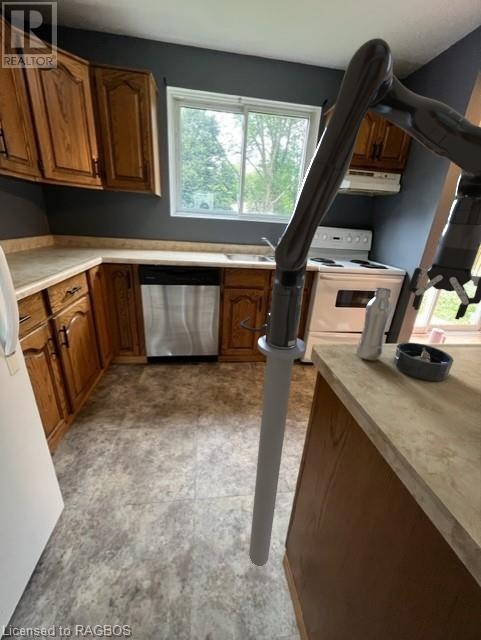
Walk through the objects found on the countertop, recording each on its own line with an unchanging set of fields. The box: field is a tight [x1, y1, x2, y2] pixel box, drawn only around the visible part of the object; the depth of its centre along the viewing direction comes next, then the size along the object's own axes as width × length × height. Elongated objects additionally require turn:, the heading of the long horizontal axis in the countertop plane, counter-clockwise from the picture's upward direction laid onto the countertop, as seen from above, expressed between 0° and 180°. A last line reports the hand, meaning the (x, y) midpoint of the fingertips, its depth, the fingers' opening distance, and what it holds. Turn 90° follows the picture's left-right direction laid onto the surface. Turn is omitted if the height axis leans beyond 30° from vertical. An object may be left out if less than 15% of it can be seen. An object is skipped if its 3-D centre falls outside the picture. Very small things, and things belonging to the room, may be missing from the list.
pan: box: [392, 342, 455, 382], centre depth 71 cm, size 12×12×5 cm
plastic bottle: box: [356, 287, 394, 361], centre depth 74 cm, size 6×7×20 cm
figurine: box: [413, 347, 430, 362], centre depth 71 cm, size 5×4×6 cm
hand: (435, 313), depth 67 cm, fingers open, 8 cm apart
